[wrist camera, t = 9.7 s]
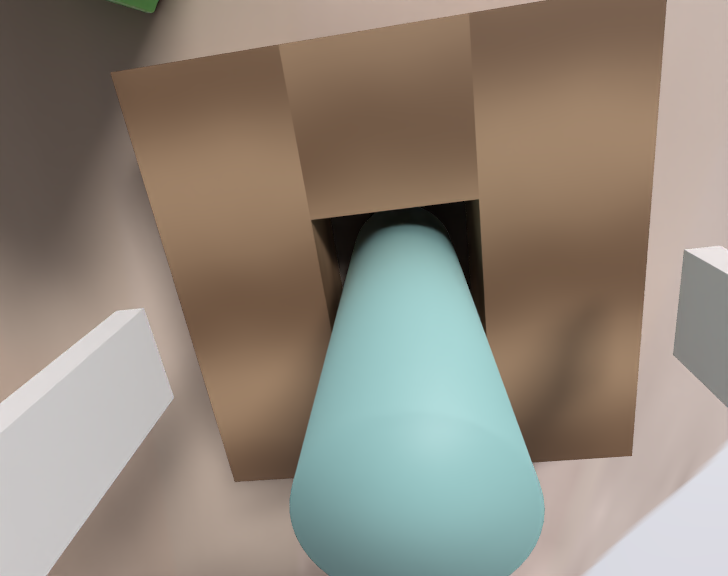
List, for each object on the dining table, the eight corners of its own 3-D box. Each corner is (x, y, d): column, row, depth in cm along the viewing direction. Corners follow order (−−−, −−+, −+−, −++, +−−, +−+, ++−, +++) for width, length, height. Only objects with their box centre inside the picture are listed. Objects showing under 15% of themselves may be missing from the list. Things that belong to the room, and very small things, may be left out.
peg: (347, 211, 18) (265, 423, 7) (448, 198, 17) (543, 400, 6) (361, 302, 19) (313, 607, 8) (455, 292, 19) (545, 598, 7)
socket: (167, 75, 16) (110, 72, 13) (608, 3, 15) (668, -20, 11) (259, 422, 21) (235, 481, 18) (593, 395, 20) (631, 455, 17)
